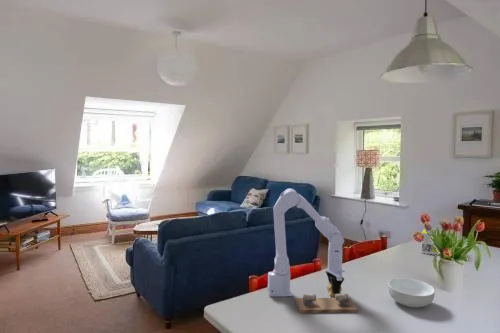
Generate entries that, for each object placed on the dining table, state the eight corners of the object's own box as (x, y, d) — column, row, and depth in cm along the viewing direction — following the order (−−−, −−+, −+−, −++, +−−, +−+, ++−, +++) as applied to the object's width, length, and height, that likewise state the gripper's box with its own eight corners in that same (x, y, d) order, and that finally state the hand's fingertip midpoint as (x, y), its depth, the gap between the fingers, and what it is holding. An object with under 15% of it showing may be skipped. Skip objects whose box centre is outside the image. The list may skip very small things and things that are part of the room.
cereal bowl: (378, 298, 145) (378, 281, 145) (408, 291, 152) (409, 275, 151) (412, 316, 130) (412, 298, 129) (444, 308, 136) (444, 290, 136)
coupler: (328, 296, 146) (329, 284, 146) (326, 292, 150) (326, 281, 150) (342, 296, 147) (342, 284, 146) (339, 292, 151) (339, 281, 150)
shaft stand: (299, 312, 132) (299, 300, 132) (295, 301, 142) (295, 289, 142) (357, 312, 133) (358, 299, 132) (349, 300, 143) (349, 288, 142)
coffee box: (444, 256, 200) (445, 235, 199) (420, 253, 206) (421, 232, 205) (445, 251, 211) (446, 230, 210) (422, 248, 217) (423, 228, 216)
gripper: (350, 265, 141) (349, 298, 141) (339, 253, 155) (338, 284, 156) (332, 265, 140) (331, 298, 141) (323, 253, 155) (322, 284, 156)
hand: (334, 291), depth 148 cm, fingers open, 4 cm apart
